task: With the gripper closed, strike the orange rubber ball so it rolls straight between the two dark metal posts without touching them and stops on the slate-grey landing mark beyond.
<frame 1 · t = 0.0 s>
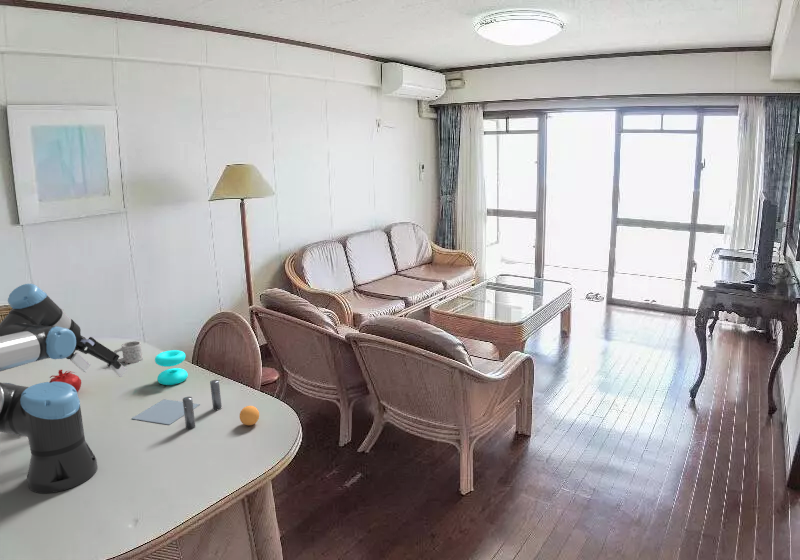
hand: (104, 370, 171), 15 cm above the table, tool tilted 35°, fingers open, 13 cm apart
pomegranate: (66, 395, 192), on the table
ball: (249, 415, 168), on the table
mug: (128, 362, 222), on the table
donuts: (173, 381, 202), on the table
far post: (217, 408, 180), on the table
near post: (190, 427, 168), on the table
landing mark: (166, 411, 178), on the table
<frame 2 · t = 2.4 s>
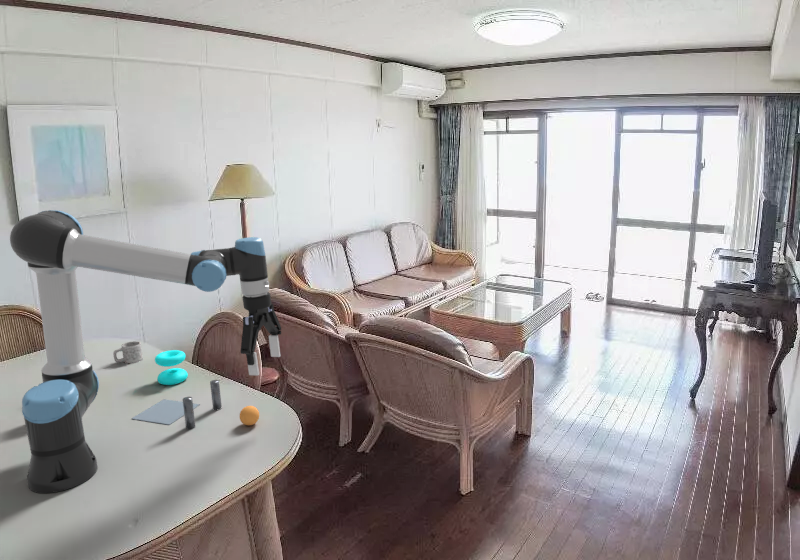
hand: (265, 365, 164), 18 cm above the table, tool pointing down, fingers open, 13 cm apart
nothing on the table moved.
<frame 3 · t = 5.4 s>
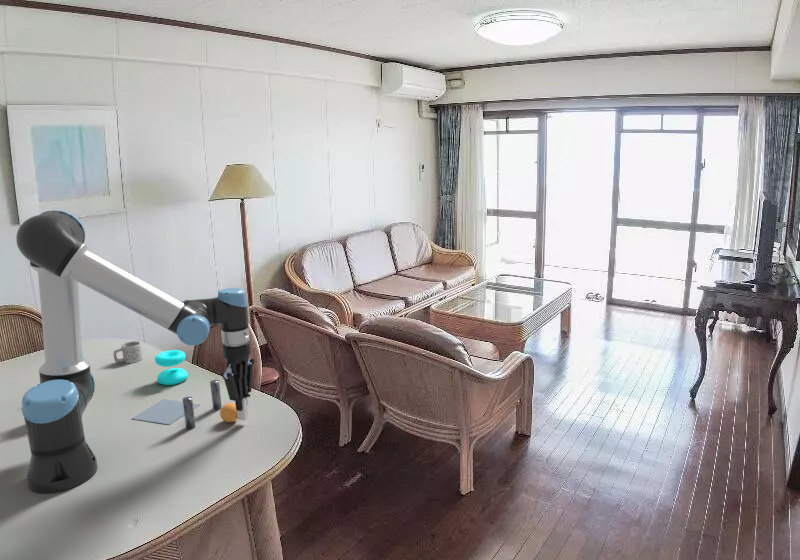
hand: (242, 418, 169), 2 cm above the table, tool pointing down, fingers closed
ball: (230, 412, 170), on the table
everything else where it was.
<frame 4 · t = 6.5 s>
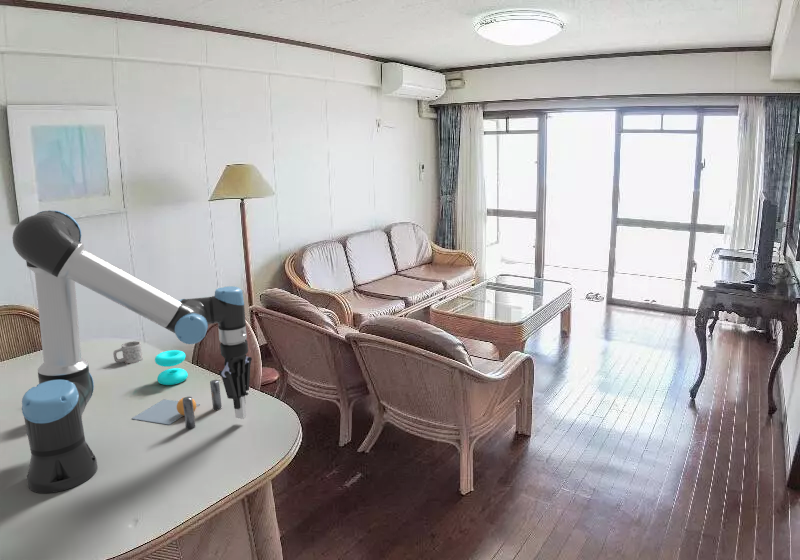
hand: (240, 417, 169), 2 cm above the table, tool pointing down, fingers closed
ball: (186, 406, 175), on the table
everything else where it was.
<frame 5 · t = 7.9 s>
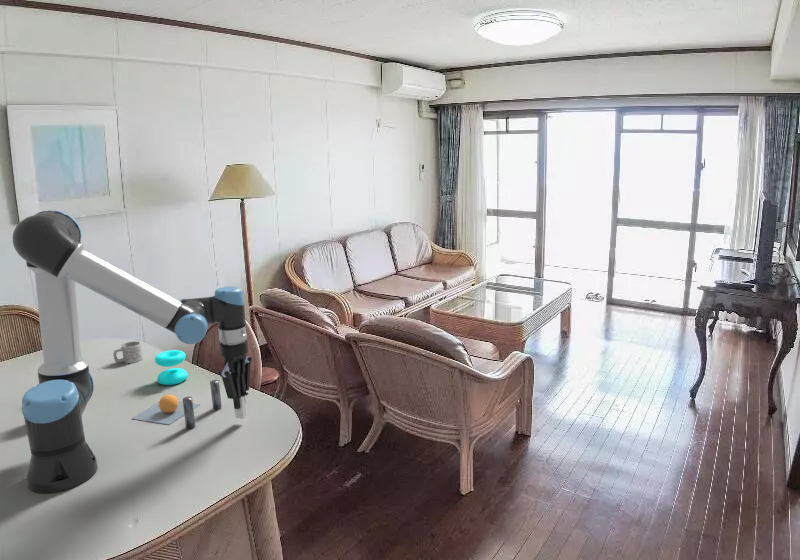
hand: (240, 417, 169), 2 cm above the table, tool pointing down, fingers closed
ball: (168, 403, 177), on the table
everything else where it was.
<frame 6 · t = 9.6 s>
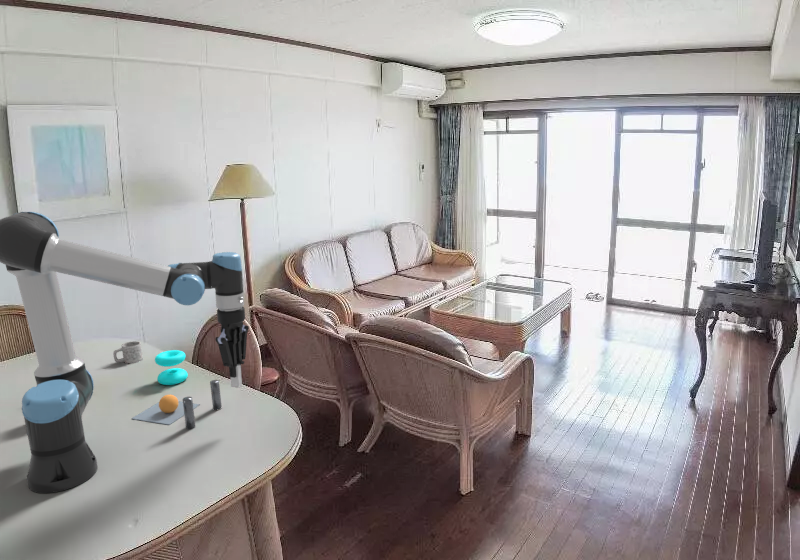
hand: (236, 386, 167), 12 cm above the table, tool pointing down, fingers closed
nothing on the table moved.
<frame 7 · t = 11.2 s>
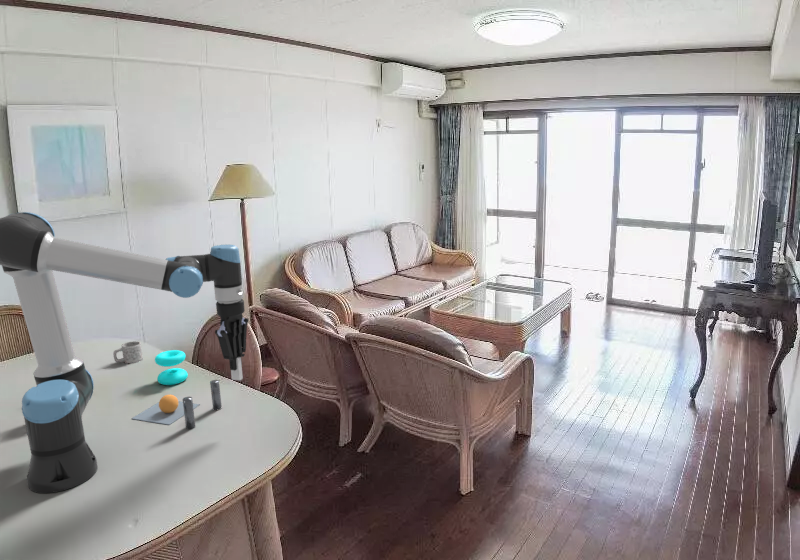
hand: (237, 378, 166), 14 cm above the table, tool pointing down, fingers closed
nothing on the table moved.
at the end: ball 1.2 cm from the landing mark (horizontally); ball never touched near post; ball never touched far post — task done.
